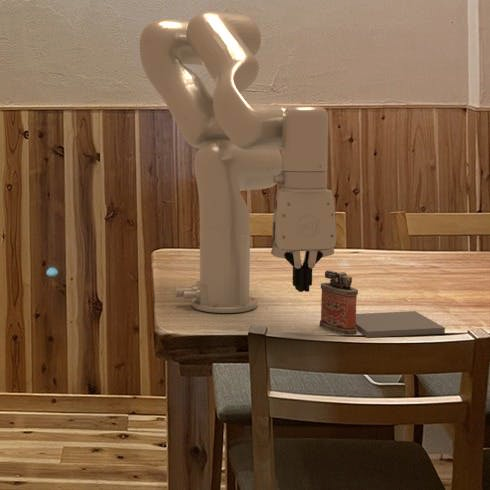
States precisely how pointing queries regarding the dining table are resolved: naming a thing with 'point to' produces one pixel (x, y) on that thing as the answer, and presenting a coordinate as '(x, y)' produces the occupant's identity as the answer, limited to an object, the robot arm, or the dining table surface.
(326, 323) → the lighter
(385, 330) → the mat
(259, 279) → the dining table surface
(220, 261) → the robot arm
